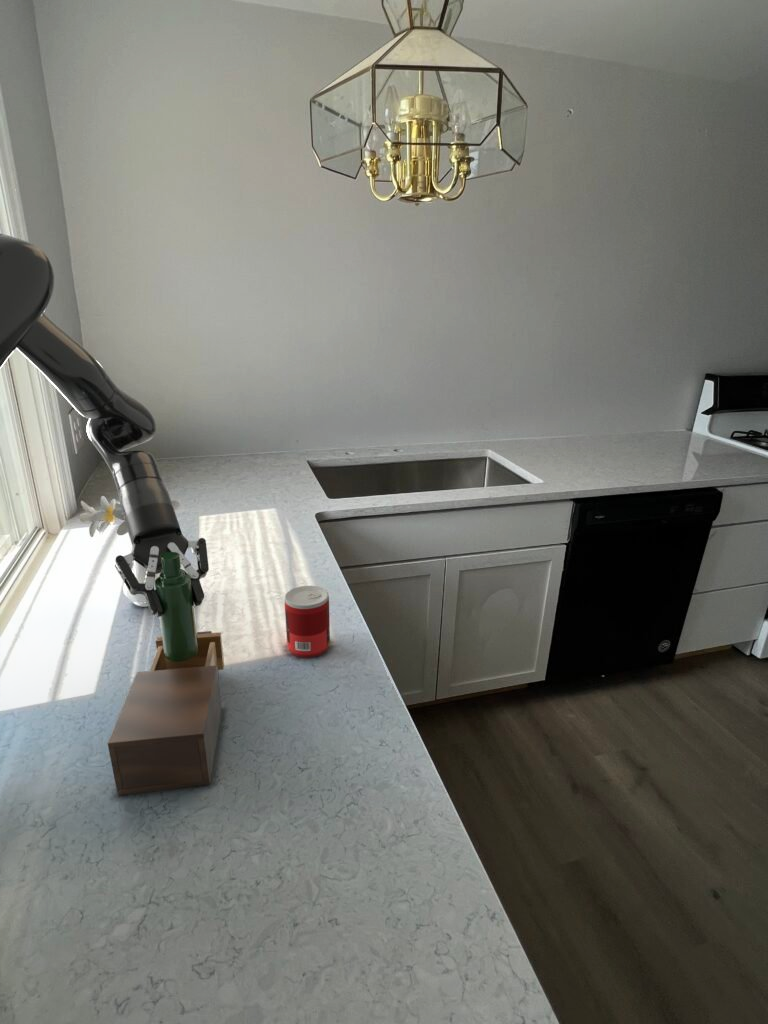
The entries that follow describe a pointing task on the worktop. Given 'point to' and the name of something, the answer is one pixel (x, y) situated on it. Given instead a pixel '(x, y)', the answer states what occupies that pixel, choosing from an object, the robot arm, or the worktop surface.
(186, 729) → the cabinet
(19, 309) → the robot arm
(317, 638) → the canned food
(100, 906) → the worktop surface
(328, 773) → the worktop surface
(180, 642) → the bottle
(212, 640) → the drawer
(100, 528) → the flower vase
